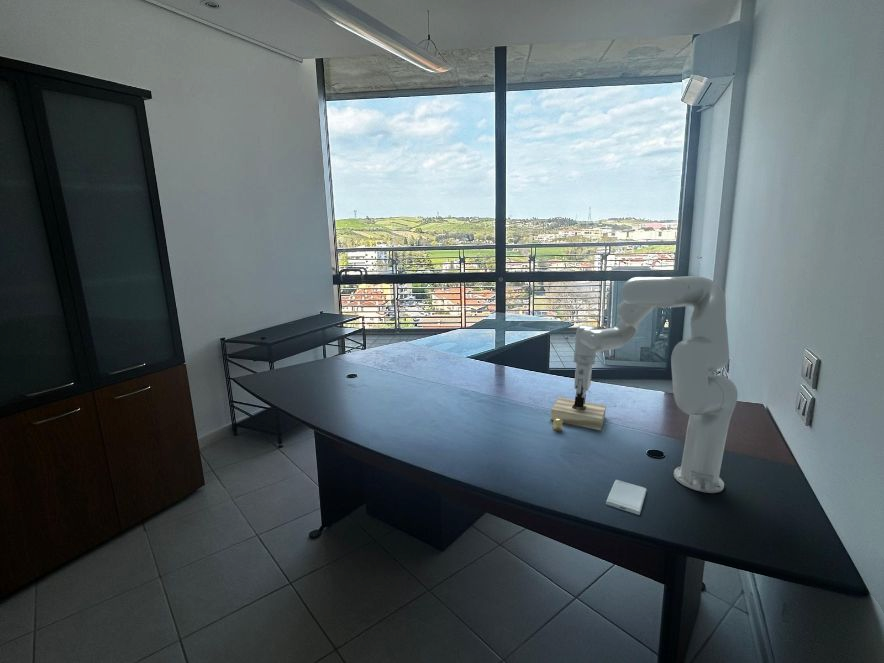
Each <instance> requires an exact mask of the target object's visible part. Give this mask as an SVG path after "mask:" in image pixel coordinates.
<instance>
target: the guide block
mask: <svg viewBox="0 0 884 663" xmlns="http://www.w3.org/2000/svg"><path fill="white" fill-rule="evenodd" d="M574 405H575V399H570V398H565V397H559V396H558V398H557V400H556V401H555V402H554V405H553V406H552V407H551V409H550V421H553V422H554V418H556V417H558V418H562V419H563V424H566V425H573V426H578V427H581V428H582V427H583V428H587V429H592V430H596V431H597V430H598V431H602V428H603V424H604V421H605V418H606V409H607V406H606V405H604V404H598V403H593V402H589V401H588V402H587V401H585V404H584V409H583V410H578V409H575V406H574Z"/></svg>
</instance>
